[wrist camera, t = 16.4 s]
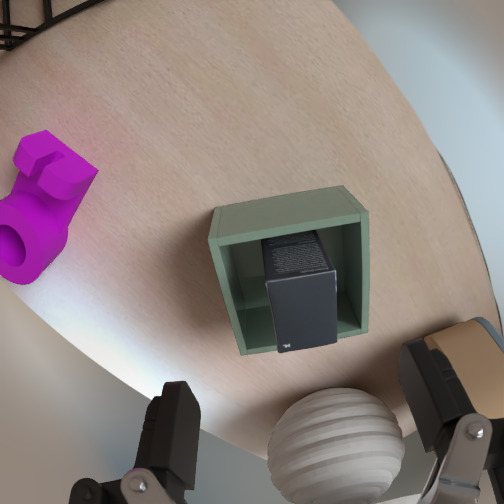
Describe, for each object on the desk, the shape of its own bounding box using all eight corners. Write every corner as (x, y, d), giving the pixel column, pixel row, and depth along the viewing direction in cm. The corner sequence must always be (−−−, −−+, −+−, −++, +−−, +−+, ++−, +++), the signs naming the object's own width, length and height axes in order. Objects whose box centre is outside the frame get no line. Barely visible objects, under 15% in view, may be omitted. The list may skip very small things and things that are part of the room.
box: (317, 281, 37) (338, 344, 28) (268, 289, 37) (276, 354, 28) (312, 218, 33) (338, 271, 24) (258, 226, 34) (263, 282, 24)
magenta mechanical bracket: (52, 272, 37) (30, 299, 31) (1, 229, 34) (-26, 251, 28) (103, 174, 31) (78, 192, 26) (41, 126, 28) (8, 136, 23)
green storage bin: (343, 185, 33) (368, 211, 26) (349, 291, 39) (368, 332, 32) (214, 207, 33) (207, 240, 27) (241, 310, 40) (240, 356, 33)
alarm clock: (453, 378, 50) (497, 466, 31) (411, 395, 51) (448, 491, 32) (472, 297, 40) (548, 399, 21) (420, 316, 41) (489, 436, 22)
